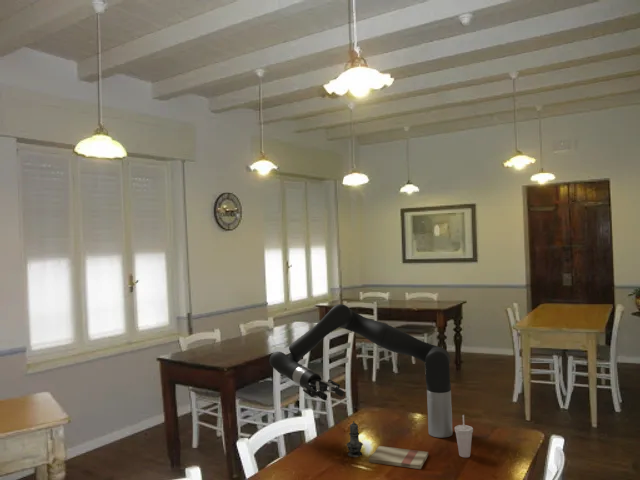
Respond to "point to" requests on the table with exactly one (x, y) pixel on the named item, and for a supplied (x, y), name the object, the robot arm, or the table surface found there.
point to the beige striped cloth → (399, 457)
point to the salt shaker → (354, 442)
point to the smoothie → (464, 439)
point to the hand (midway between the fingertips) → (334, 396)
